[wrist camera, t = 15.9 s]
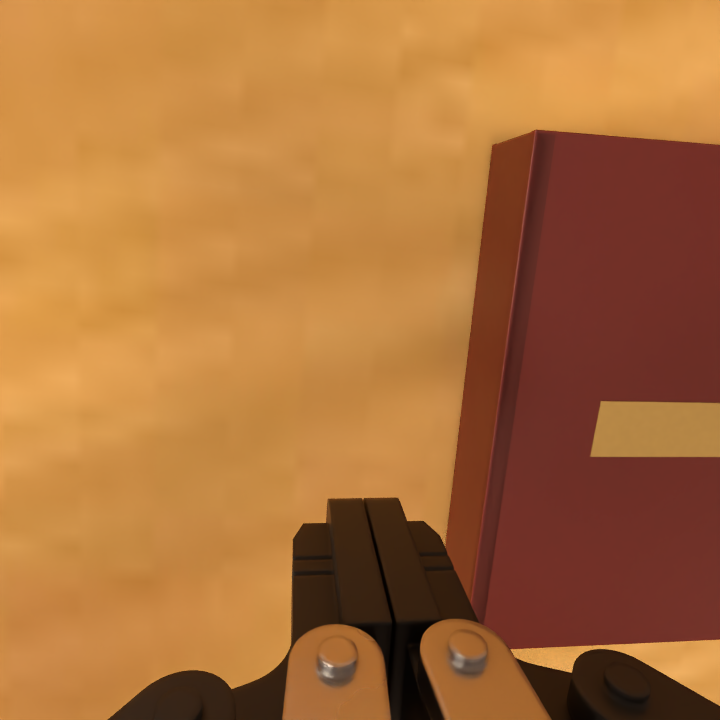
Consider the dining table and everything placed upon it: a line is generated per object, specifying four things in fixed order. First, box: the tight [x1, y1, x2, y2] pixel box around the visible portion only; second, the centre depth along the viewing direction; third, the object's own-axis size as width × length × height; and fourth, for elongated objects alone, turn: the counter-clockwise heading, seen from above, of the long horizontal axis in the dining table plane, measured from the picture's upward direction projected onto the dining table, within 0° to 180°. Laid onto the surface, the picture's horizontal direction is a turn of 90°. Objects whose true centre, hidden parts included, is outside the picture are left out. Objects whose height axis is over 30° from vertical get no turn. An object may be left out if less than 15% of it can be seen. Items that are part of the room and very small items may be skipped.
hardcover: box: [446, 130, 720, 649], centre depth 19 cm, size 15×18×3 cm
